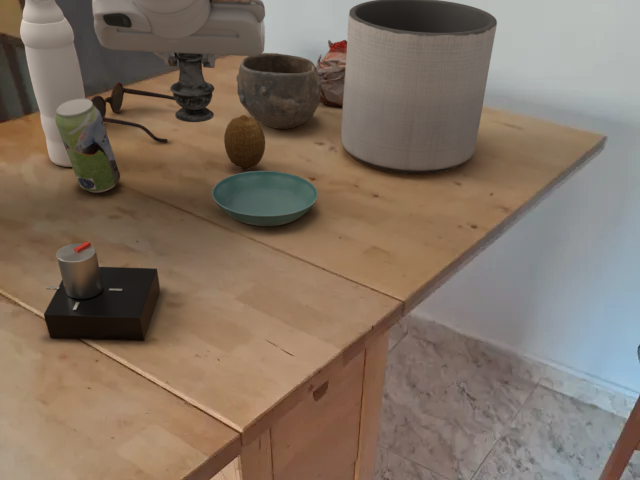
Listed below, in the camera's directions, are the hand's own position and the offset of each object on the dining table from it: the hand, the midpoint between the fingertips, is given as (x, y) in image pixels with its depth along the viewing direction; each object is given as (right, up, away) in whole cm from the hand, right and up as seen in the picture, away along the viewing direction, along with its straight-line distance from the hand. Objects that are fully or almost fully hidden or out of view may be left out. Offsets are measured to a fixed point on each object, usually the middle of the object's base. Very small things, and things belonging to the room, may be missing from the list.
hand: (190, 61), depth 90 cm
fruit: (+5, -8, +17) cm, 19 cm away
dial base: (-7, -35, -13) cm, 38 cm away
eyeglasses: (-13, +4, +29) cm, 32 cm away
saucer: (+9, -17, +7) cm, 21 cm away
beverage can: (-16, -13, +10) cm, 23 cm away
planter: (+32, -2, +24) cm, 40 cm away
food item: (+21, +16, +43) cm, 50 cm away
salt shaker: (0, -5, +4) cm, 7 cm away
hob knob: (-9, -33, -15) cm, 38 cm away
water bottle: (-22, -6, +17) cm, 28 cm away
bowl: (+10, +6, +32) cm, 34 cm away
